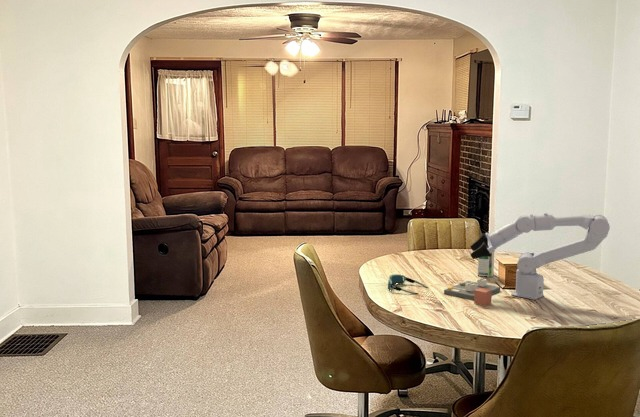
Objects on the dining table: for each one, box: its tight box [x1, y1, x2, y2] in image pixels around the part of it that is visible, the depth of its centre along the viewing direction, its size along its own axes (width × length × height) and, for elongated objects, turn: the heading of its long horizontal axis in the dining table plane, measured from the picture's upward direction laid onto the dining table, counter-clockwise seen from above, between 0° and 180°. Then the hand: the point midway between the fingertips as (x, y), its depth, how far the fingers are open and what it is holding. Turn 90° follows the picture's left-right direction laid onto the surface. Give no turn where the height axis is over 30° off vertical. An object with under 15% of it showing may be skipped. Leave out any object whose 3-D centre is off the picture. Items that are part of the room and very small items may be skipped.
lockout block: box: [473, 288, 492, 307], centre depth 220 cm, size 4×4×5 cm
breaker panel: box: [443, 280, 501, 301], centre depth 234 cm, size 14×18×2 cm
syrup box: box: [477, 251, 495, 278], centre depth 259 cm, size 6×6×14 cm
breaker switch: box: [476, 277, 488, 287], centre depth 237 cm, size 2×3×3 cm
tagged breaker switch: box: [465, 281, 475, 291], centre depth 231 cm, size 2×3×3 cm
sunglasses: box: [387, 273, 429, 295], centre depth 240 cm, size 14×15×5 cm
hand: (471, 252), depth 235 cm, fingers open, 7 cm apart
